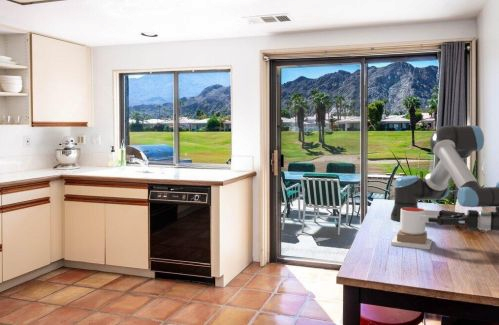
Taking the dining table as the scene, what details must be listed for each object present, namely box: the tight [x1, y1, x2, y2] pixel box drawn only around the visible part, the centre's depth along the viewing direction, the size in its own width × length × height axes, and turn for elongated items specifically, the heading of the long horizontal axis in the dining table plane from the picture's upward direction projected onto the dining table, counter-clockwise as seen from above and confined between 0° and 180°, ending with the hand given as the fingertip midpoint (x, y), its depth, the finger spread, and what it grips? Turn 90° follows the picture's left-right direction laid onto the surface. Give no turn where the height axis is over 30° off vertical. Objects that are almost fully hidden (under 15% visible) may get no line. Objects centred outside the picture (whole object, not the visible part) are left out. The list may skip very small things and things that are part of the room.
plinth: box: [390, 229, 433, 251], centre depth 188 cm, size 15×15×4 cm
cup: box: [399, 207, 427, 235], centre depth 187 cm, size 10×10×10 cm
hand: (421, 215), depth 185 cm, fingers open, 13 cm apart
